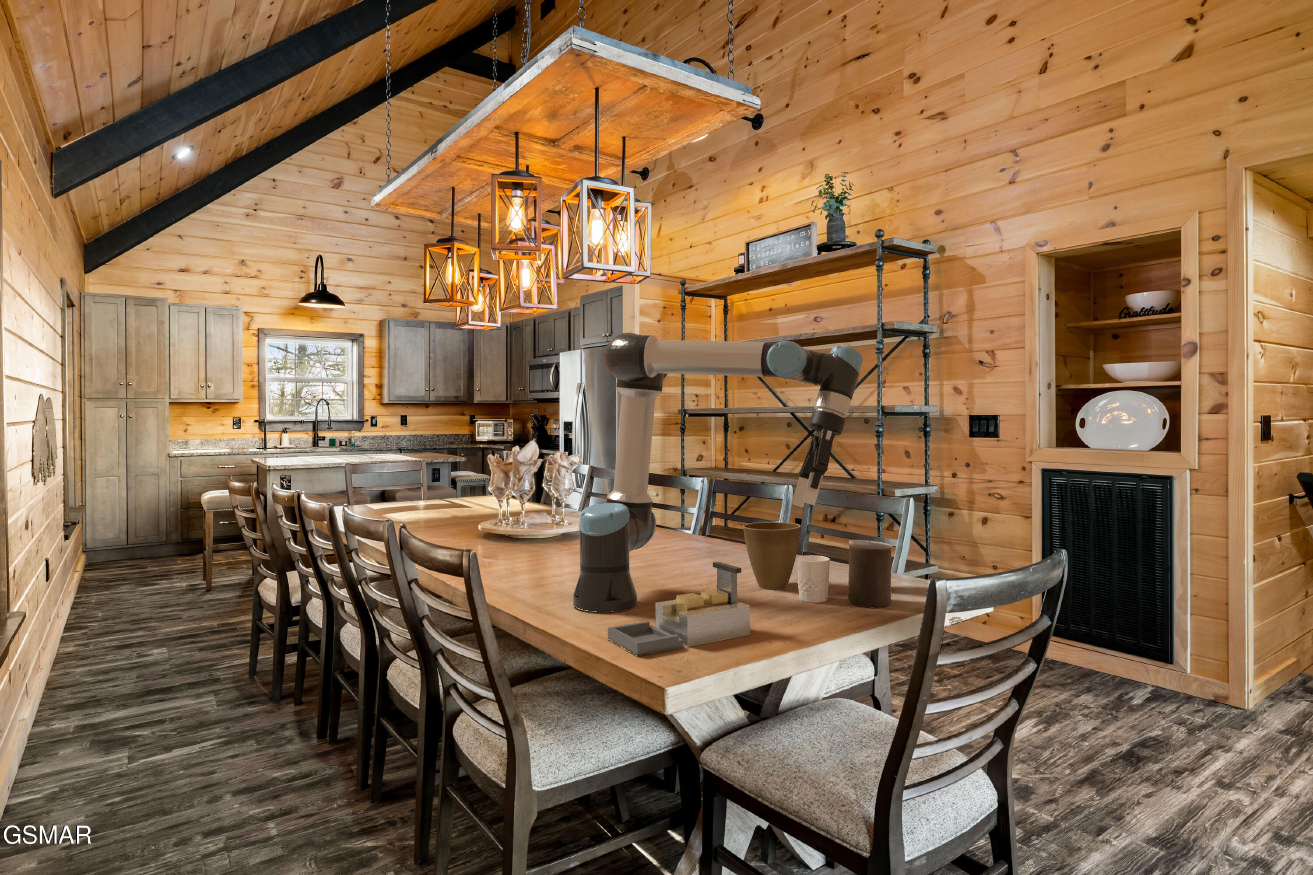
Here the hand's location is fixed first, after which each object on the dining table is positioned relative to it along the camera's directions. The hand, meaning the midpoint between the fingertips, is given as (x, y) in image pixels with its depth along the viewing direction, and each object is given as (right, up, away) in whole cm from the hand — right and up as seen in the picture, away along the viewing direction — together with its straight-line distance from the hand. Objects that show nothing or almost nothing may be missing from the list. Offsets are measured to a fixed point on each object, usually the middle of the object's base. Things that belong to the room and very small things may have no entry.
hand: (802, 504), depth 161 cm
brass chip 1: (-26, -21, -14) cm, 36 cm away
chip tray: (-35, -25, -20) cm, 47 cm away
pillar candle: (+18, -24, +11) cm, 32 cm away
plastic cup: (+23, -24, +25) cm, 42 cm away
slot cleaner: (-18, -21, -10) cm, 29 cm away
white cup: (+6, -24, +14) cm, 29 cm away
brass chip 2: (-20, -21, -11) cm, 31 cm away
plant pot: (-2, -24, +29) cm, 38 cm away
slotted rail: (-23, -25, -13) cm, 37 cm away
